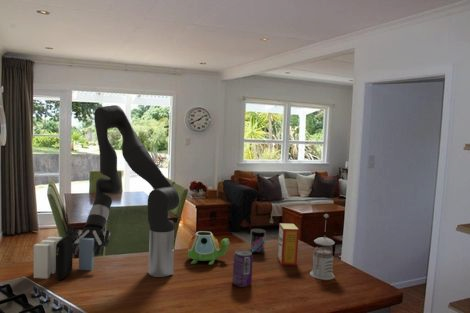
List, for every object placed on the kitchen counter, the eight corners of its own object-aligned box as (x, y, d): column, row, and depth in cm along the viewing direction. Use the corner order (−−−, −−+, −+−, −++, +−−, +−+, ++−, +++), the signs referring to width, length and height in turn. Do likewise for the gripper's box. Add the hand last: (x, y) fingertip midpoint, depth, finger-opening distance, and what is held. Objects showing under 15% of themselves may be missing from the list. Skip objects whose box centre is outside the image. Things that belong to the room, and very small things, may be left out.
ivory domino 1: (36, 275, 138) (36, 243, 137) (50, 276, 138) (50, 244, 137) (33, 277, 136) (33, 245, 135) (47, 278, 136) (47, 246, 135)
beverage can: (253, 282, 142) (255, 251, 141) (248, 289, 135) (249, 256, 134) (235, 278, 144) (237, 248, 143) (229, 285, 137) (231, 253, 136)
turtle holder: (231, 265, 158) (232, 237, 157) (188, 265, 155) (189, 237, 154) (226, 254, 170) (228, 229, 169) (186, 255, 167) (187, 229, 166)
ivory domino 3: (43, 270, 142) (43, 239, 141) (56, 271, 142) (56, 240, 141) (40, 272, 140) (40, 241, 139) (53, 273, 140) (54, 242, 139)
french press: (339, 275, 152) (343, 214, 150) (324, 283, 144) (329, 218, 142) (317, 268, 159) (321, 210, 157) (302, 275, 150) (306, 213, 148)
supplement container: (246, 252, 174) (248, 230, 174) (255, 249, 180) (256, 227, 179) (259, 256, 170) (260, 233, 170) (267, 252, 176) (268, 230, 175)
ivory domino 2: (49, 266, 147) (49, 236, 146) (61, 267, 147) (62, 237, 146) (46, 268, 145) (46, 237, 144) (59, 269, 145) (59, 238, 144)
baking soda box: (277, 257, 170) (279, 222, 169) (291, 257, 171) (293, 222, 170) (281, 264, 161) (283, 228, 160) (296, 265, 161) (298, 228, 160)
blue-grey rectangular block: (80, 267, 147) (81, 237, 146) (93, 268, 147) (94, 238, 146) (78, 269, 145) (79, 239, 144) (91, 270, 145) (92, 239, 144)
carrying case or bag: (61, 283, 132) (61, 242, 131) (52, 283, 132) (52, 242, 131) (73, 271, 143) (74, 233, 142) (65, 271, 143) (66, 233, 142)
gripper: (77, 212, 152) (63, 249, 142) (112, 214, 152) (101, 251, 142) (83, 222, 158) (70, 258, 148) (116, 223, 158) (106, 260, 147)
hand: (85, 254), depth 145 cm, fingers open, 8 cm apart
